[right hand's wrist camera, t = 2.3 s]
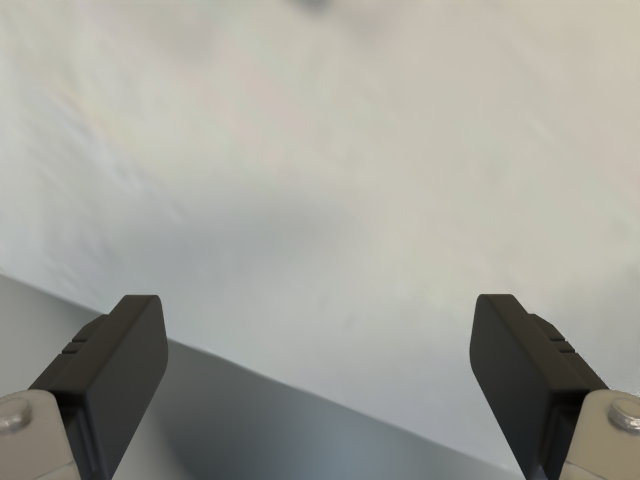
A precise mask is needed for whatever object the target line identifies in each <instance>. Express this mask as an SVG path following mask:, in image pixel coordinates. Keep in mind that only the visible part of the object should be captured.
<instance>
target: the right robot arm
mask: <svg viewBox="0 0 640 480" xmlns="http://www.w3.org/2000/svg"><path fill="white" fill-rule="evenodd" d="M167 362H168V344H167V338H166V331H165V324H164V317H163V311H162V304H161V300H160V298H159V296H157V295H125V296H124V297H123V298H122V299H121V300H120V302H119V303H118V304H117V305H116V306H115V308H114V309H113V310H112V311H111V312H110V314H109V315H101V316H100V317H98V318H96V319H95V320H93V321H92V322H90V323H88V324H87V325H85V326H84V327H83V328H82V329H81V330H80V331H79V332H78V333H77V335H76V336H75V337H74V338H73V339H72V342H69V344H68V345H67V346H66V347H65V348H64V349H63V350H62V354H59V355H58V356H57V357H56V358H55V359H54V360H53V361H52V363H51V364H50V365H49V366H48V367H47V368H46V369H45V370H44V372H43V373H42V374H41V375H40V376H39V377H38V378H37V379H36V381H35V382H34V383H33V384H32V385H31V386H30V387H29V388H28V389H27V390H24V391H19V392H15V393H12V394H8V395H6V396H3V397H1V398H0V480H111V479H112V477H113V475H114V473H115V471H116V469H117V467H118V465H119V463H120V461H121V459H122V457H123V455H124V453H125V451H126V449H127V447H128V445H129V443H130V441H131V439H132V437H133V435H134V433H135V431H136V429H137V427H138V425H139V423H140V421H141V419H142V417H143V415H144V413H145V411H146V409H147V407H148V405H149V403H150V401H151V399H152V397H153V395H154V393H155V391H156V389H157V387H158V385H159V383H160V381H161V379H162V377H163V375H164V373H165V370H166V367H167ZM470 363H471V367H472V370H473V373H474V375H475V377H476V379H477V381H478V383H479V385H480V387H481V389H482V391H483V393H484V395H485V397H486V399H487V401H488V403H489V405H490V407H491V409H492V411H493V413H494V415H495V418H496V420H497V422H498V424H499V426H500V428H501V430H502V432H503V434H504V436H505V438H506V440H507V442H508V444H509V446H510V448H511V450H512V452H513V454H514V456H515V458H516V460H517V462H518V464H519V466H520V468H521V470H522V472H523V474H524V476H525V478H526V480H640V398H639V397H637V396H634V395H632V394H628V393H625V392H621V391H616V390H610V389H609V388H608V387H607V386H606V385H605V383H604V382H603V381H602V380H601V379H600V378H599V377H598V375H597V374H596V373H595V372H594V371H593V370H592V369H591V368H590V366H589V365H588V364H587V363H586V362H585V361H584V360H583V359H582V357H581V356H580V355H579V354H578V353H575V349H574V348H573V347H572V346H571V345H570V344H569V343H568V342H567V341H565V338H564V337H563V336H562V335H561V334H560V333H559V331H558V330H557V329H556V328H555V327H554V326H553V325H552V324H550V323H549V322H547V321H545V320H544V319H542V318H541V317H539V316H537V315H536V314H528V313H527V311H526V310H525V309H524V308H523V307H522V305H521V304H520V303H519V302H518V301H517V299H516V298H515V297H514V296H513V295H511V294H480V295H479V297H478V299H477V302H476V307H475V314H474V321H473V328H472V335H471V342H470Z"/></svg>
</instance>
